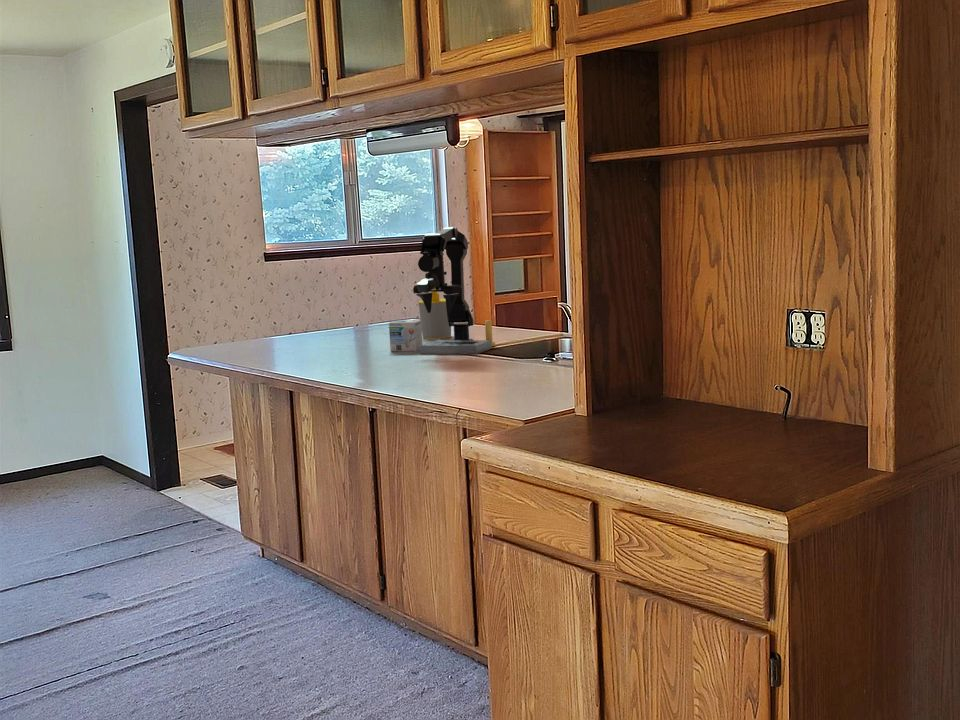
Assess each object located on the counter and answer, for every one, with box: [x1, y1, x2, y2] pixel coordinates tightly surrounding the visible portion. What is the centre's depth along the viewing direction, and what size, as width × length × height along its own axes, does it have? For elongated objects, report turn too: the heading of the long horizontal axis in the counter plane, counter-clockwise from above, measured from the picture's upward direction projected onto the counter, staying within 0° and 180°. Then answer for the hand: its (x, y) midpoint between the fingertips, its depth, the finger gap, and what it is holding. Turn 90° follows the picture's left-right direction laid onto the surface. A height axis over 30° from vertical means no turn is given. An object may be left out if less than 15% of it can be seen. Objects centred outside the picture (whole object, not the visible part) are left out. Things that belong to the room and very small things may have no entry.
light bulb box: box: [388, 319, 424, 352], centre depth 349 cm, size 11×7×11 cm, turn 73°
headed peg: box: [484, 320, 496, 347], centre depth 347 cm, size 4×4×9 cm
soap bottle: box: [418, 288, 452, 340], centre depth 381 cm, size 13×13×21 cm
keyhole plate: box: [419, 339, 493, 355], centre depth 340 cm, size 14×22×3 cm, turn 67°
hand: (438, 313), depth 338 cm, fingers open, 9 cm apart
